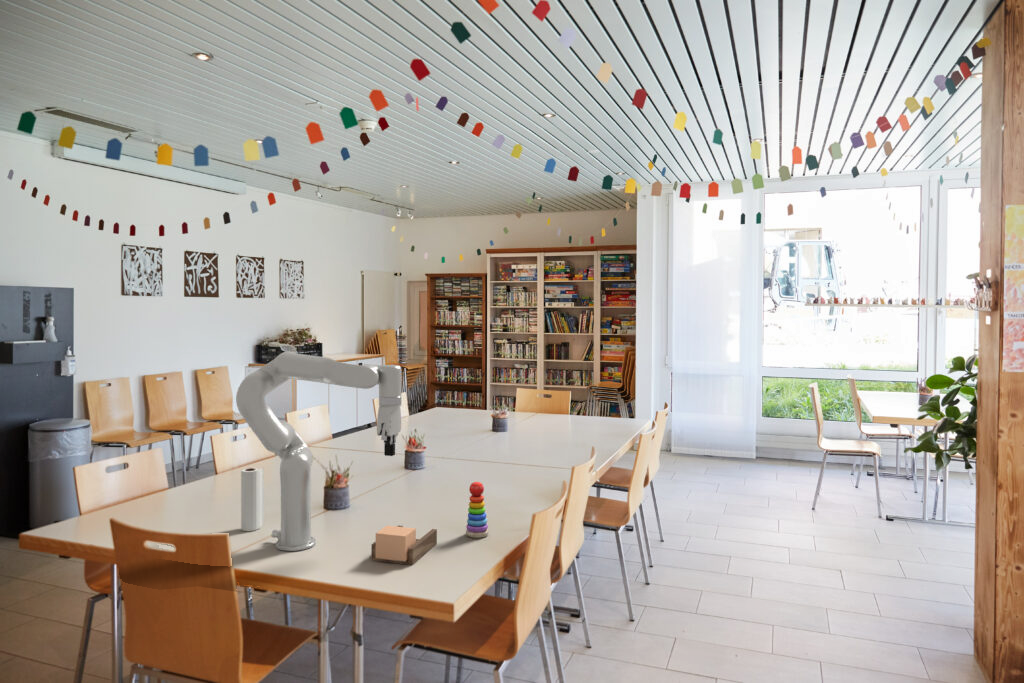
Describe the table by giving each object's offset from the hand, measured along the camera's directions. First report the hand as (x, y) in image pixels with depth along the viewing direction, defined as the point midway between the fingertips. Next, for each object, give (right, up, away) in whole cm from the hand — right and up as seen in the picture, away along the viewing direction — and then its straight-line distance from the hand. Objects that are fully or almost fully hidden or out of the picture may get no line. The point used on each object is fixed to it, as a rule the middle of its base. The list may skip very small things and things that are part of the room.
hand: (389, 455), depth 231 cm
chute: (+7, -30, -10) cm, 32 cm away
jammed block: (+5, -29, -17) cm, 34 cm away
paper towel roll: (-51, -28, +11) cm, 59 cm away
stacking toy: (+29, -30, +8) cm, 42 cm away
